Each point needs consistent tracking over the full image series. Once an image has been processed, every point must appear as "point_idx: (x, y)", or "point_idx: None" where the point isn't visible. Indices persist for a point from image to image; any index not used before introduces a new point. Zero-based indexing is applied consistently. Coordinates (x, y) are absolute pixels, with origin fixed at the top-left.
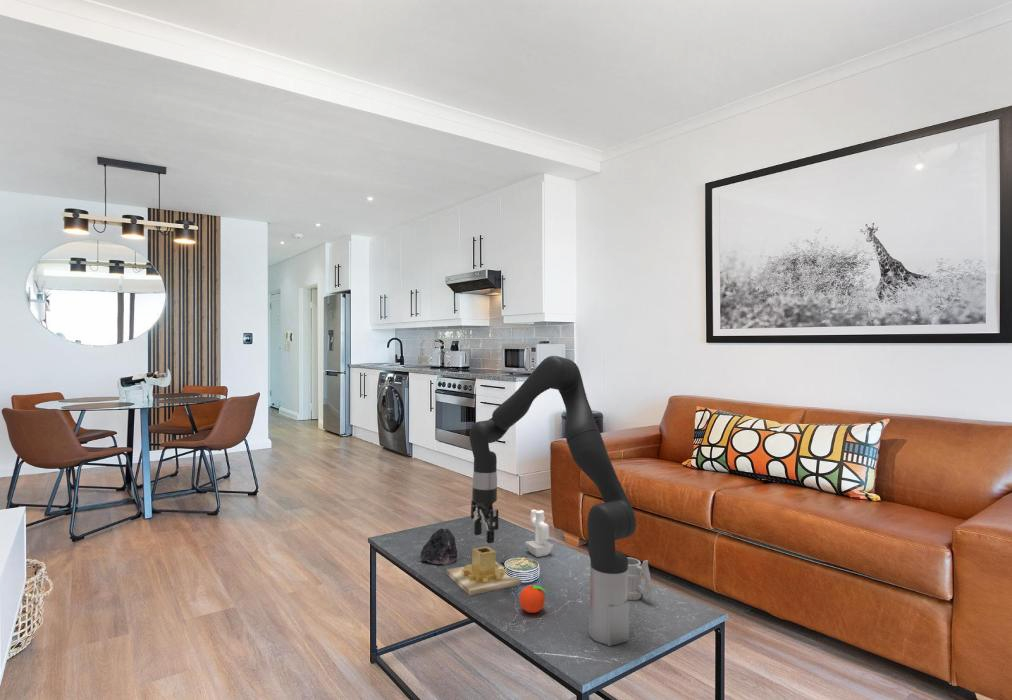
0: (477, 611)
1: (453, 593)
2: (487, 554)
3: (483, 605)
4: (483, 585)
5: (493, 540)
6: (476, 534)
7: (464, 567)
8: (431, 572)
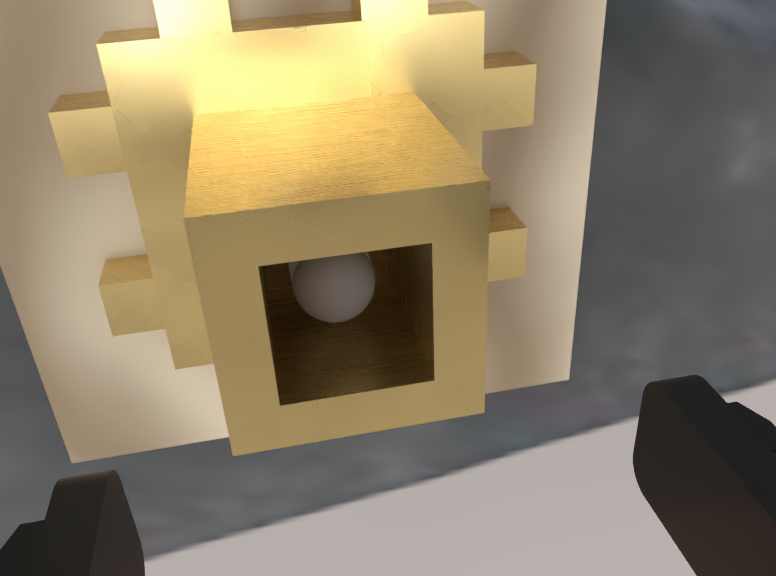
0: (772, 361)
1: (465, 441)
2: (480, 304)
3: (731, 307)
4: (542, 259)
5: (752, 417)
6: (138, 553)
7: (183, 366)
8: (11, 527)
